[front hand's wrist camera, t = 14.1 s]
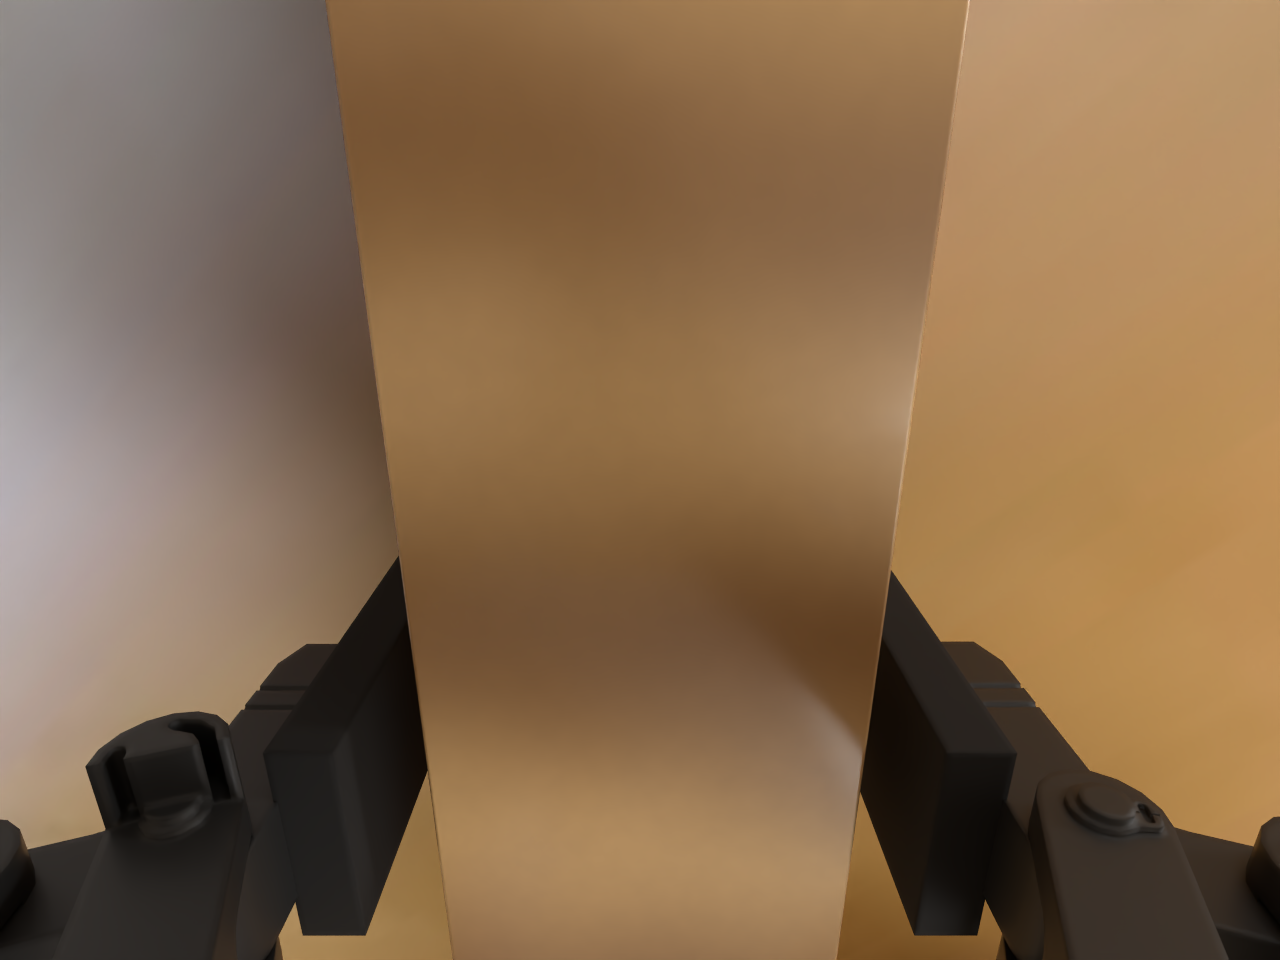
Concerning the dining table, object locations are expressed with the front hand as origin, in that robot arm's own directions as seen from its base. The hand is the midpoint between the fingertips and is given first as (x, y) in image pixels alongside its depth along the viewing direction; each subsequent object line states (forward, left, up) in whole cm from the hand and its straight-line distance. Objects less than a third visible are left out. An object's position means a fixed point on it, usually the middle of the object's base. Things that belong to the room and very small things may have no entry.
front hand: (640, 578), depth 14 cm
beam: (+22, +10, -2) cm, 24 cm away
